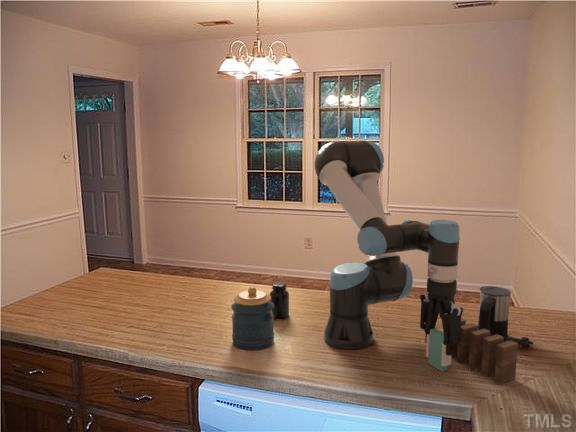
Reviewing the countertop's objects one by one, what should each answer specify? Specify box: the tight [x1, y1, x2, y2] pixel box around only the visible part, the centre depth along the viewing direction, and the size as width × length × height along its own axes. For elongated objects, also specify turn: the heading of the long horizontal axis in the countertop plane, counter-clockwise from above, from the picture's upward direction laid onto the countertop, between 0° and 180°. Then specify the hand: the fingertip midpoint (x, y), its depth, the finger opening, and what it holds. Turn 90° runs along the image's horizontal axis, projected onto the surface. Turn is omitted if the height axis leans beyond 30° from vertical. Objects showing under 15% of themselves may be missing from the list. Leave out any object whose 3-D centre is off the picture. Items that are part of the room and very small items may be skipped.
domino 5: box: [481, 334, 505, 378], centre depth 126 cm, size 2×5×10 cm, turn 116°
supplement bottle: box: [269, 281, 290, 320], centre depth 167 cm, size 7×7×12 cm
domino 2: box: [449, 317, 467, 357], centre depth 138 cm, size 2×5×10 cm, turn 116°
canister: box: [230, 286, 275, 351], centre depth 146 cm, size 13×13×18 cm
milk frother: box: [477, 285, 534, 347], centre depth 146 cm, size 14×16×15 cm
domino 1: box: [428, 327, 449, 372], centre depth 130 cm, size 2×5×10 cm, turn 26°
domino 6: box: [494, 340, 519, 385], centre depth 123 cm, size 2×5×10 cm, turn 116°
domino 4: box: [468, 329, 490, 370], centre depth 130 cm, size 2×5×10 cm, turn 116°
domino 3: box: [456, 322, 478, 364], centre depth 134 cm, size 2×5×10 cm, turn 116°
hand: (438, 360), depth 131 cm, fingers closed on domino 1, 5 cm apart
